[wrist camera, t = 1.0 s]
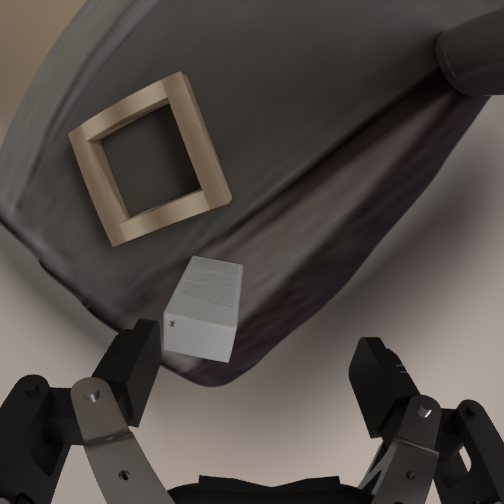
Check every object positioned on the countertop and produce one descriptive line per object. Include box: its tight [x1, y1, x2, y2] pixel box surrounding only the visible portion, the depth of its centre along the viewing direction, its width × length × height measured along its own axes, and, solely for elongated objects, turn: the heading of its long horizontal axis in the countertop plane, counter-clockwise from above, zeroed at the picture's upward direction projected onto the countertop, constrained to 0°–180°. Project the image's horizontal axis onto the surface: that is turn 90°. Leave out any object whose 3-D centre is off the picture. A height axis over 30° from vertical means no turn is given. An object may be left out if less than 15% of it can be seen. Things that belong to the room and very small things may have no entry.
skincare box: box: [163, 256, 243, 362], centre depth 29 cm, size 6×4×12 cm
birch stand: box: [68, 72, 232, 247], centre depth 28 cm, size 14×14×3 cm
